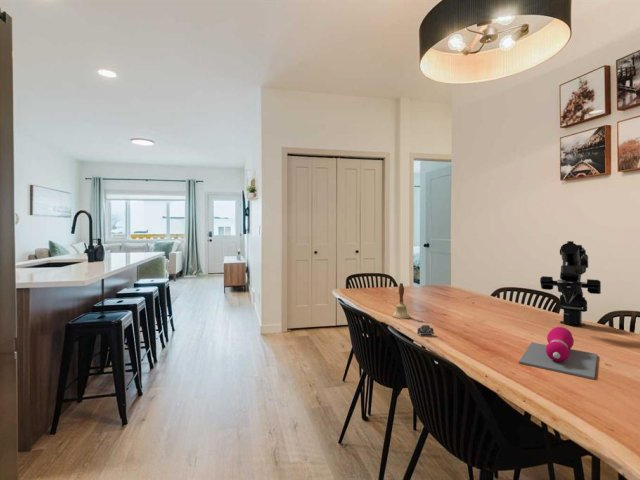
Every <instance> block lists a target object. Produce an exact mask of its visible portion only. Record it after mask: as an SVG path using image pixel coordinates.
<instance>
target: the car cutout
mask: <svg viewBox="0 0 640 480" xmlns="http://www.w3.org/2000/svg"><path fill="white" fill-rule="evenodd" d="M416 334H417V335H418V336H419V337H421V336H431V337H434V336H433V335H435V331H434V328H433V327H430V325H428V324H423V325H421V326H420V327H418V328H417V332H416Z"/></svg>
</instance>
